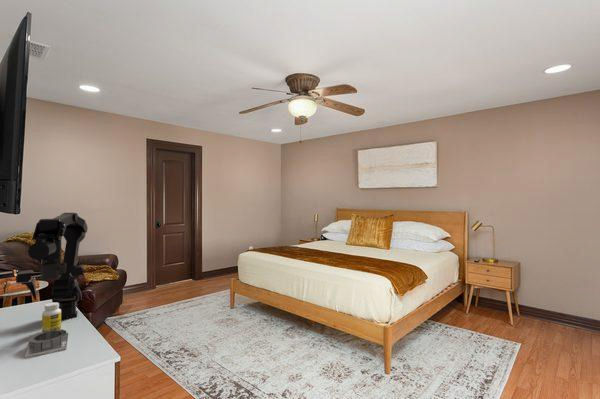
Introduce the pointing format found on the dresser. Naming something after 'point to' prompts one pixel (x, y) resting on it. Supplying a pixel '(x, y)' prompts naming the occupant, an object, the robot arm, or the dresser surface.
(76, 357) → the dresser surface
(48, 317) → the supplement bottle
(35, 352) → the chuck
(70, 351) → the dresser surface
